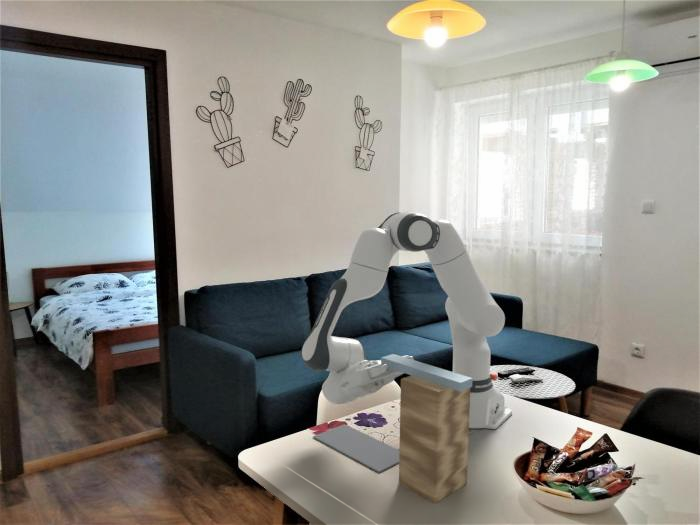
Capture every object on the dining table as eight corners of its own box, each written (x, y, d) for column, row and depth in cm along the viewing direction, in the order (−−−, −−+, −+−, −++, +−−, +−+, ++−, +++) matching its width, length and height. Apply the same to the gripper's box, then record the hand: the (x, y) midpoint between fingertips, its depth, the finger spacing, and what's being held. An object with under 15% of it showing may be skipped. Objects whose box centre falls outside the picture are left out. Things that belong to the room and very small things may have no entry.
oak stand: (430, 466, 137) (433, 367, 134) (466, 483, 129) (470, 379, 126) (398, 483, 129) (400, 378, 126) (435, 503, 121) (438, 392, 118)
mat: (344, 425, 161) (344, 424, 161) (411, 457, 142) (411, 455, 142) (313, 437, 153) (313, 436, 153) (379, 473, 134) (379, 471, 134)
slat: (393, 361, 138) (393, 353, 138) (472, 386, 121) (472, 378, 121) (381, 365, 135) (381, 357, 135) (460, 391, 118) (460, 382, 118)
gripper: (331, 375, 137) (364, 360, 128) (387, 358, 151) (420, 343, 142) (340, 399, 136) (374, 385, 126) (395, 380, 150) (429, 366, 140)
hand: (399, 363), depth 134 cm, fingers open, 8 cm apart
